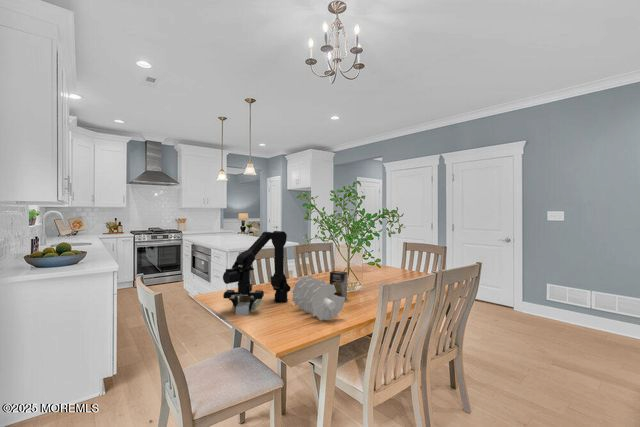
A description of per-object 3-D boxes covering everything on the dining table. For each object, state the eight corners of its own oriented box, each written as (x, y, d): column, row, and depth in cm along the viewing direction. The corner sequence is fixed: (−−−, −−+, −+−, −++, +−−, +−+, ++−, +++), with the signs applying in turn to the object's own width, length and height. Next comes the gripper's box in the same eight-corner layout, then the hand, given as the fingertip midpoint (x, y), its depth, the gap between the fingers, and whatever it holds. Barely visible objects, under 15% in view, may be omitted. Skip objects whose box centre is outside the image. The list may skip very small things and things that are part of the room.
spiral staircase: (323, 332, 138) (295, 313, 158) (350, 310, 146) (321, 294, 167) (310, 300, 132) (283, 284, 153) (339, 278, 141) (310, 266, 161)
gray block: (251, 311, 152) (251, 303, 152) (248, 316, 146) (248, 306, 146) (239, 311, 152) (239, 302, 152) (235, 315, 146) (235, 306, 146)
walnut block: (255, 303, 163) (255, 292, 162) (252, 308, 156) (252, 296, 155) (242, 303, 163) (243, 292, 162) (239, 307, 156) (239, 296, 155)
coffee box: (328, 300, 173) (329, 272, 173) (332, 297, 179) (333, 270, 179) (343, 302, 170) (344, 273, 170) (347, 299, 176) (347, 271, 176)
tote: (262, 300, 171) (262, 293, 170) (255, 310, 154) (255, 302, 153) (241, 300, 171) (241, 292, 171) (232, 310, 154) (232, 302, 154)
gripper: (266, 276, 157) (265, 306, 157) (230, 276, 157) (229, 305, 157) (261, 282, 146) (261, 314, 146) (223, 281, 146) (222, 313, 146)
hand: (243, 311), depth 149 cm, fingers closed on gray block, 6 cm apart
